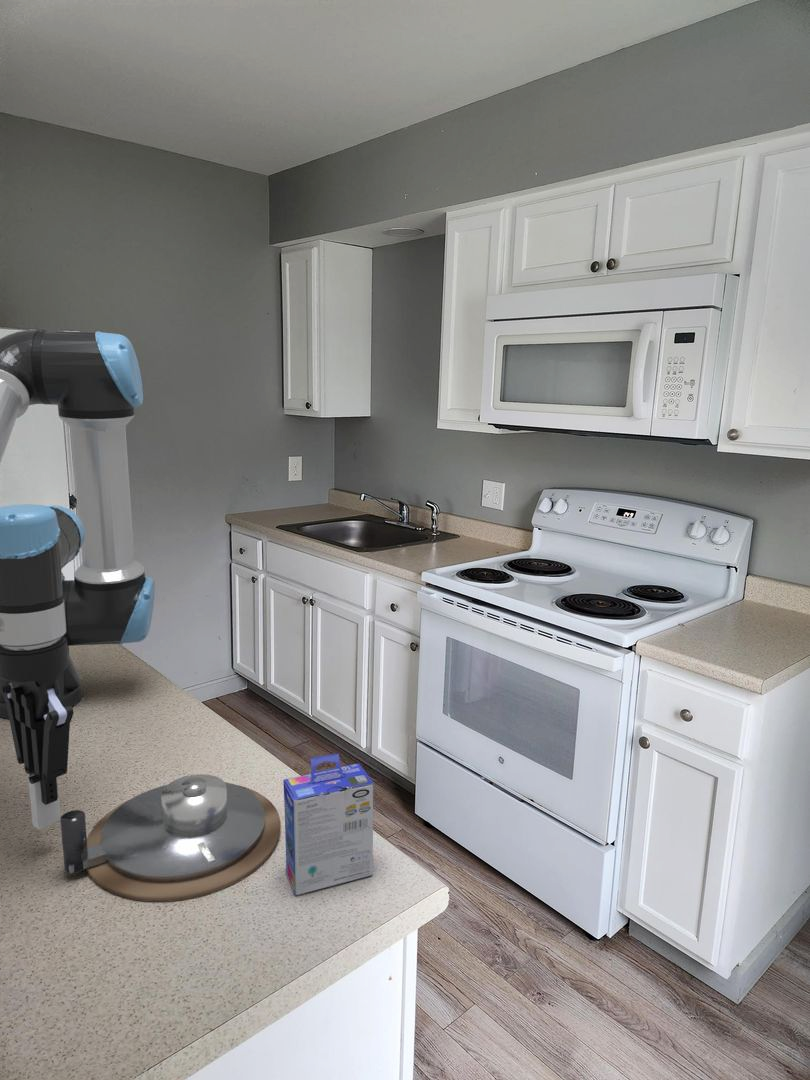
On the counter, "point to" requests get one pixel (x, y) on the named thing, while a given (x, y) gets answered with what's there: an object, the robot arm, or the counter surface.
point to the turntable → (163, 839)
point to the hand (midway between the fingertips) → (46, 822)
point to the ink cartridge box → (328, 826)
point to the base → (193, 887)
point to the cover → (194, 805)
